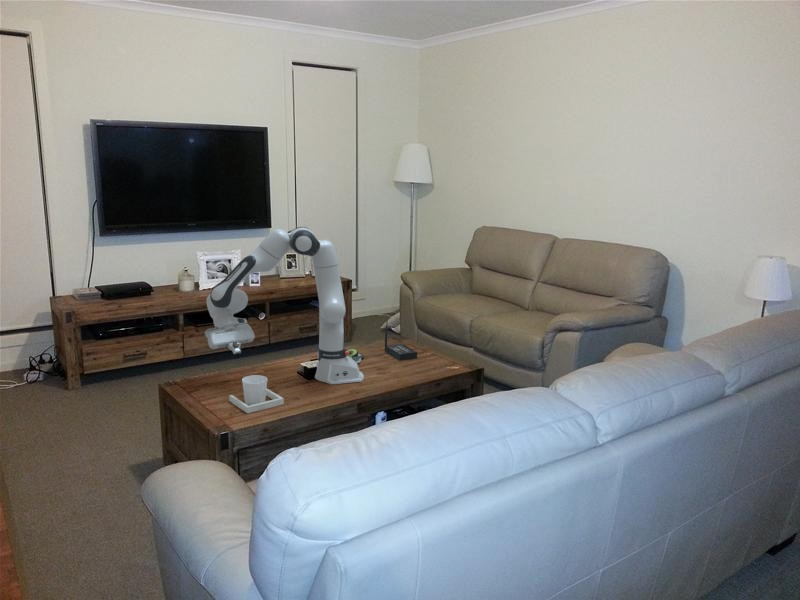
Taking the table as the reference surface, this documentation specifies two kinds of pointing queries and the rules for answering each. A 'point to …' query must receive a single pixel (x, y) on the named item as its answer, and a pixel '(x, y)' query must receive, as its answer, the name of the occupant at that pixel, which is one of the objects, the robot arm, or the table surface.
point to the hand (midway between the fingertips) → (237, 352)
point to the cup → (254, 389)
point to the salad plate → (355, 355)
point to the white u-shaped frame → (260, 406)
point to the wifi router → (399, 350)
